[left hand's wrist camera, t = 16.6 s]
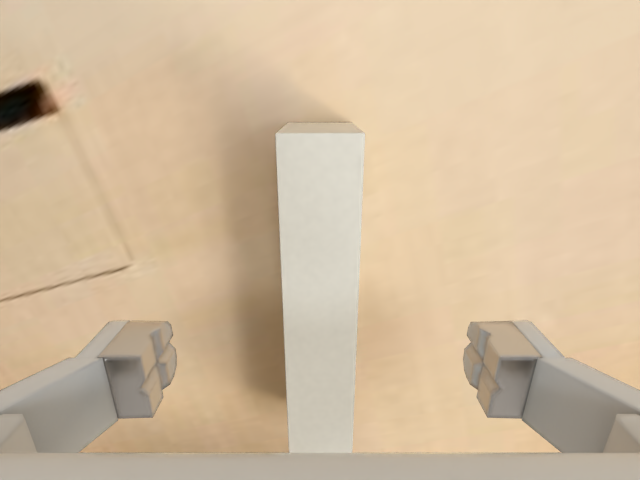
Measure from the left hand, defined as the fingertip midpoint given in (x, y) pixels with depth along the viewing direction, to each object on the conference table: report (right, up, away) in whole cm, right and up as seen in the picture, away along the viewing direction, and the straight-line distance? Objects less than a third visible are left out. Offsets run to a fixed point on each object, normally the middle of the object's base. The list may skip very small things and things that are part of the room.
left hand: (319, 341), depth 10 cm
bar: (0, -1, +24) cm, 24 cm away
